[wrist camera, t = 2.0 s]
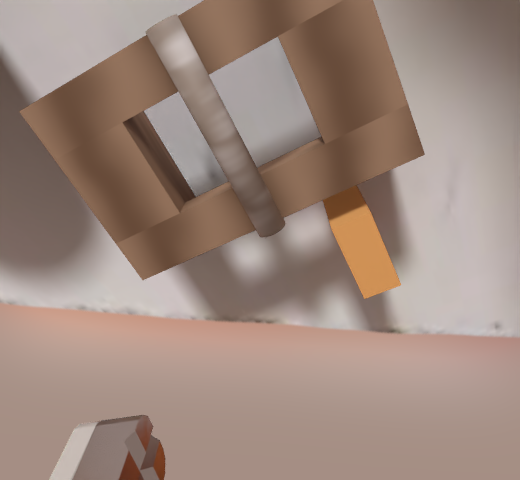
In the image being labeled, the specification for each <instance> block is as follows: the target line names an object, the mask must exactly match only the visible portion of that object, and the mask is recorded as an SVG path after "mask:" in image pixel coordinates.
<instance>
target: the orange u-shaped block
mask: <svg viewBox="0 0 520 480" xmlns="http://www.w3.org/2000/svg"><path fill="white" fill-rule="evenodd" d="M323 202H324V206H325V209H326V213H327V216H328V219H329V223H330V226H331V229H332V232H333V234H334V236H335V238H336V240H337V242H338V244H339V246H340V248H341V251H342V253H343V255H344V257H345V259H346V261H347V263H348V265H349V267H350V270H351V272H352V274H353V276H354V278H355V280H356V282H357V284H358V286H359V289H360V291H361V293H362V295H363V297H364V299H366V298H368V297H371V296H374V295H376V294H379V293H382V292H384V291H387V290H390V289H392V288H395V287H397V286H400V285H401V283H400V281H399V278H398V276H397V274H396V271H395V269H394V267H393V264H392V262H391V259H390V257H389V255H388V252H387V250H386V247H385V245H384V243H383V240H382V238H381V236H380V233H379V231H378V228H377V226H376V224H375V221H374V219H373V216H372V214H371V212H370V210H369V208H368V206H367V204H366V202H365V200H364V199H363V197H362V195H361V193H360V191H359V189H358V187H357V185H355V186H353V187H351V188H349V189H346V190H344V191H342V192H340V193H337V194H335V195H333V196H331V197H328V198H326V199H324V200H323Z"/></svg>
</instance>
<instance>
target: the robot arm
mask: <svg viewBox="0 0 520 480" xmlns="http://www.w3.org/2000/svg"><path fill="white" fill-rule="evenodd" d="M152 429H153V425H152V423H151V421H150V419H149V417H148V416H146V415H139V416H132V417H124V418H116V419H110V420H102V421H98V422H90V423H83V424H79V425H78V426H77V427H76V428H75V429H74V430H73V432H72V434H71V436H70V438H69V440H68V442H67V444H66V446H65V448H64V450H63V453H62V454H61V456H60V458H59V461H58V463H57V465H56V467H55V469H54V471H53V473H52V475H51V477H50V479H49V480H164V476H165V455H164V450H163V447H162V445H161V442H160V440H158V439H157V438H155V437H153V436H152V435H151V432H152Z"/></svg>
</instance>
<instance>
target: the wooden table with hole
mask: <svg viewBox="0 0 520 480" xmlns="http://www.w3.org/2000/svg"><path fill="white" fill-rule="evenodd" d="M146 34H147V35H146V36H144V37H142V38H141V39H139V40H137V41H136V42H134V43H132V44H131V45H129V46H127V47H126V48H124V49H122V50H121V51H119V52H117V53H116V54H114V55H112V56H111V57H109V58H107V59H106V60H104V61H102V62H101V63H99V64H97V65H96V66H94V67H92V68H91V69H89V70H87V71H86V72H84V73H82V74H81V75H79V76H78V77H76V78H74V79H73V80H71V81H69V82H68V83H66V84H64V85H63V86H61V87H59V88H58V89H56V90H54V91H53V92H51V93H49V94H48V95H46V96H44V97H43V98H41V99H39V100H38V101H36V102H34V103H33V104H31V105H29V106H28V107H26V108H24V109H23V110H21V111H19V112H20V113H21V115H22V116H23V118H24V119H25V120H26V122H27V123H28V124H29V126H30V127H31V128H32V130H33V131H34V133H35V134H36V135H37V137H38V138H39V139H40V141H41V142H42V143H43V145H44V146H45V148H46V149H47V150H48V152H49V153H50V154H51V156H52V157H53V158H54V160H55V161H56V163H57V164H58V165H59V167H60V168H61V169H62V171H63V172H64V173H65V175H66V176H67V178H68V179H69V180H70V182H71V183H72V184H73V186H74V187H75V188H76V190H77V191H78V193H79V194H80V195H81V197H82V198H83V199H84V201H85V202H86V203H87V205H88V206H89V208H90V209H91V210H92V212H93V213H94V214H95V216H96V217H97V218H98V220H99V221H100V223H101V224H102V225H103V227H104V228H105V229H106V231H107V232H108V233H109V235H110V236H111V238H112V239H113V240H114V242H115V243H116V244H117V246H118V247H119V248H120V250H121V251H122V253H123V254H124V255H125V257H126V258H127V259H128V261H129V262H130V263H131V265H132V266H133V268H134V269H135V270H136V272H137V273H138V274H139V276H140V277H141V278H142V280H144V279H147V278H149V277H151V276H153V275H156V274H158V273H160V272H162V271H165V270H167V269H169V268H171V267H174V266H176V265H178V264H180V263H183V262H185V261H187V260H189V259H192V258H194V257H196V256H198V255H201V254H203V253H205V252H207V251H210V250H212V249H214V248H216V247H219V246H221V245H223V244H225V243H227V242H230V241H232V240H234V239H236V238H239V237H241V236H243V235H245V234H248V233H250V232H252V231H254V230H256V231H257V232H258V234H259V236H260V237H268V236H271V235H273V234H275V233H277V232H279V231H280V230H281V229H282V228H283V227H284V226H285V221H284V219H283V218H284V217H286V216H288V215H290V214H293V213H295V212H297V211H299V210H301V209H304V208H306V207H308V206H310V205H313V204H315V203H317V202H319V201H322V200H324V199H326V198H328V197H331V196H333V195H335V194H337V193H340V192H342V191H344V190H346V189H349V188H351V187H353V186H355V185H358V184H360V183H362V182H364V181H367V180H369V179H371V178H373V177H376V176H378V175H380V174H382V173H384V172H387V171H389V170H391V169H393V168H396V167H398V166H400V165H402V164H405V163H407V162H409V161H411V160H414V159H416V158H418V157H420V156H423V155H425V154H424V151H423V148H422V145H421V142H420V139H419V136H418V133H417V130H416V127H415V124H414V121H413V118H412V115H411V112H410V109H409V106H408V103H407V100H406V97H405V94H404V91H403V88H402V85H401V82H400V79H399V76H398V73H397V70H396V67H395V64H394V61H393V58H392V56H391V53H390V50H389V47H388V44H387V41H386V38H385V35H384V32H383V29H382V26H381V23H380V20H379V17H378V14H377V11H376V8H375V5H374V2H373V0H204V1H202V2H201V3H199V4H197V5H196V6H194V7H192V8H191V9H189V10H187V11H186V12H184V13H182V14H181V15H179V16H177V14H176V15H173V16H170V17H168V18H166V19H164V20H162V21H160V22H159V23H157V24H155V25H154V26H152V27H151V28H149V29H148V30H147V31H146ZM277 36H278V38H279V40H280V42H281V45H282V47H283V49H284V51H285V54H286V56H287V58H288V61H289V63H290V65H291V67H292V70H293V72H294V74H295V77H296V79H297V81H298V83H299V86H300V88H301V90H302V93H303V95H304V97H305V99H306V102H307V104H308V106H309V109H310V111H311V113H312V115H313V118H314V120H315V122H316V125H317V127H318V129H319V131H320V134H321V136H322V137H320V138H318V139H316V140H314V141H312V142H310V143H308V144H306V145H303V146H301V147H299V148H297V149H295V150H293V151H291V152H289V153H287V154H285V155H283V156H281V157H279V158H277V159H274V160H272V161H270V162H268V163H266V164H264V165H262V166H260V167H258V168H257V167H256V165H255V163H254V161H253V159H252V157H251V155H250V154H249V152H248V150H247V148H246V146H245V144H244V142H243V140H242V138H241V136H240V134H239V133H238V131H237V129H236V127H235V125H234V123H233V121H232V119H231V117H230V115H229V113H228V111H227V110H226V108H225V106H224V104H223V102H222V100H221V98H220V96H219V94H218V92H217V90H216V88H215V87H214V85H213V83H212V81H211V79H210V77H209V74H211V73H212V72H214V71H216V70H218V69H220V68H222V67H223V66H225V65H227V64H229V63H231V62H232V61H234V60H236V59H238V58H240V57H241V56H243V55H245V54H247V53H249V52H250V51H252V50H254V49H256V48H258V47H259V46H261V45H263V44H265V43H267V42H268V41H270V40H272V39H274V38H276V37H277ZM178 91H179V93H180V95H181V97H182V98H183V100H184V102H185V104H186V106H187V107H188V109H189V111H190V113H191V114H192V116H193V118H194V120H195V122H196V123H197V125H198V127H199V129H200V131H201V132H202V134H203V136H204V138H205V139H206V141H207V143H208V145H209V147H210V148H211V150H212V152H213V154H214V156H215V157H216V159H217V161H218V163H219V164H220V166H221V168H222V170H223V172H224V173H225V175H226V177H227V179H228V181H229V182H227V183H225V184H223V185H221V186H218V187H216V188H214V189H212V190H210V191H208V192H206V193H204V194H202V195H200V196H198V197H195V195H194V194H193V192H192V190H191V189H190V187H189V185H188V184H187V182H186V180H185V179H184V177H183V175H182V174H181V172H180V170H179V169H178V167H177V166H176V164H175V162H174V161H173V159H172V157H171V156H170V154H169V152H168V151H167V149H166V147H165V146H164V144H163V142H162V141H161V139H160V138H159V136H158V134H157V133H156V131H155V129H154V128H153V126H152V124H151V123H150V121H149V119H148V118H147V116H146V114H145V113H144V110H146V109H147V108H149V107H151V106H153V105H155V104H157V103H158V102H160V101H162V100H164V99H166V98H167V97H169V96H171V95H173V94H175V93H176V92H178Z"/></svg>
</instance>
